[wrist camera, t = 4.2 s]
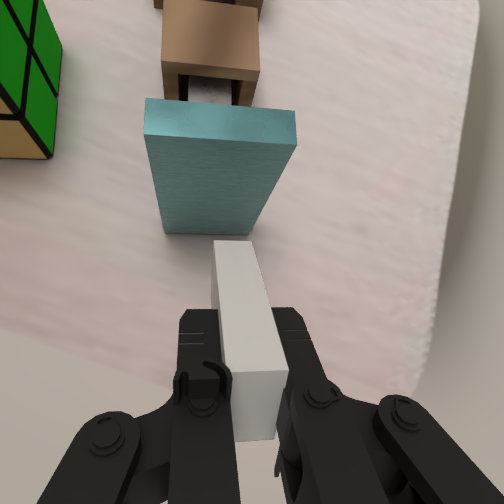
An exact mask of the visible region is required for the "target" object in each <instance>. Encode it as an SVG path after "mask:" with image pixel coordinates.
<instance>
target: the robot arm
mask: <svg viewBox="0 0 504 504" xmlns="http://www.w3.org/2000/svg"><path fill="white" fill-rule="evenodd" d="M211 307H212V309H187V310H186V311H185V313H184V314H183V316H182V317H181V319H180V321H179V338H178V355H177V371H176V373H175V376H174V379H173V394H172V396H171V398H170V399H169V400H168V401H167V402H166V404H164V405H163V406H161V407H160V408H159V409H157V410H155V411H152V412H150V413H148V414H145V415H142V416H139V417H137V418H133V417H132V416H131V415H129V414H126V413H124V412H121V411H116V412H115V411H114V412H106V413H103V414H100V415H97V416H95V417H94V418H92V419H91V420H89V421H88V422H86V423H85V424H84V425H83V427H82V428H81V429H80V430H79V432H78V433H77V434H76V436H75V437H74V439H73V441H72V443H71V444H70V446H69V448H68V449H67V451H66V453H65V455H64V456H63V458H62V460H61V462H60V464H59V465H58V467H57V469H56V470H55V472H54V474H53V476H52V477H51V479H50V481H49V483H48V485H47V486H46V488H45V490H44V492H43V493H42V495H41V497H40V498H39V500H38V502H37V504H160V503H163V502H165V501H166V500H168V504H241V501H240V492H239V481H238V472H237V462H236V453H235V442H242V441H243V442H244V441H258V440H271V439H274V437H275V433H276V428H277V432H278V436H279V441H280V447H279V451H278V455H277V459H276V464H275V469H274V473H275V474H274V475H275V477H278V476H279V472H281V476H282V482H283V487H284V492H285V497H286V502H287V504H504V496H503V495H502V494H501V492H500V491H499V490H498V489H497V488H496V487H495V486H494V485H493V484H492V483H491V481H490V480H489V479H488V478H487V477H486V476H485V475H484V474H483V473H482V471H481V470H480V469H479V468H478V467H477V466H476V465H475V464H474V462H473V461H471V459H470V458H469V457H468V456H467V455H466V454H465V453H464V451H463V450H462V449H461V448H460V447H459V446H458V445H457V444H456V443H455V441H454V440H453V439H452V438H451V437H450V436H449V435H448V434H447V432H446V431H445V430H444V429H443V428H442V427H441V426H440V425H439V424H438V422H437V421H436V420H435V419H434V418H433V417H432V416H431V415H430V414H429V413H428V411H427V410H426V409H424V408H423V407H422V406H421V405H420V404H419V403H418V402H416V401H414V400H412V399H410V398H408V397H405V396H401V395H397V394H396V395H387V396H386V397H384V398H383V399H381V401H380V403H379V405H376V404H371V403H367V402H363V401H359V400H355V399H352V398H349V397H347V396H345V395H343V394H342V392H341V391H340V389H339V388H338V387H337V386H336V385H335V384H334V383H332V382H331V381H330V380H328V379H327V377H326V375H325V373H324V370H323V368H322V365H321V363H320V360H319V358H318V355H317V353H316V350H315V348H314V345H313V343H312V341H311V338H310V335H309V333H308V331H307V328H306V325H305V323H304V320H303V317H302V316H301V315H300V314H299V313H298V312H297V311H296V310H295V309H294V308H293V307H276V308H271V307H270V303H269V300H268V296H267V293H266V289H265V286H264V283H263V279H262V276H261V272H260V269H259V265H258V262H257V258H256V255H255V252H254V248H253V245H252V241H227V240H214V246H213V265H212V284H211Z"/></svg>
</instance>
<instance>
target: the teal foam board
mask: <svg viewBox="0 0 504 504" xmlns="http://www.w3.org/2000/svg"><path fill="white" fill-rule="evenodd" d="M144 139H145V143H146V148H147V153H148V158H149V162H150V167H151V172H152V177H153V181H154V186H155V191H156V196H157V200H158V205H159V210H160V215H161V219H162V224H163V229H164V233H194V234H236V235H249V234H250V232H251V230H252V228H253V226H254V224H255V222H256V221H257V219H258V217H259V215H260V213H261V211H262V209H263V207H264V206H265V204H266V202H267V200H268V198H269V196H270V194H271V193H272V191H273V189H274V187H275V185H276V183H277V181H278V179H279V178H280V176H281V174H282V172H283V170H284V168H285V166H286V165H287V163H288V161H289V159H290V157H291V155H292V153H293V152H294V150H295V148H296V146H297V137H296V123H295V111H290V110H279V109H267V108H256V107H245V106H233V105H231V79H226V78H216V77H206V76H196V75H188V101H176V100H165V99H153V98H146V99H145V117H144Z"/></svg>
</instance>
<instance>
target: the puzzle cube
mask: <svg viewBox="0 0 504 504" xmlns="http://www.w3.org/2000/svg"><path fill="white" fill-rule="evenodd" d="M61 53H62V45H61V42H60V40H59V38H58V35H57V33H56V31H55V28H54V26H53V23H52V21H51V19H50V16H49V14H48V11H47V9H46V7H45V4H44V2H43V0H0V158H35V159H48V158H49V157H50V156H52V155H53V145H54V134H55V122H56V111H57V100H56V98H55V96H57V95H58V86H59V75H60V64H61Z"/></svg>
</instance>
